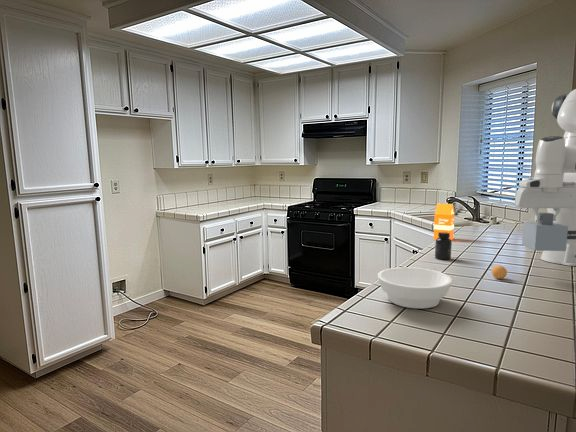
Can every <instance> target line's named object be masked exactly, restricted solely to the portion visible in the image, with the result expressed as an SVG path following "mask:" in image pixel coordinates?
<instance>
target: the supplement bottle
mask: <svg viewBox="0 0 576 432" xmlns="http://www.w3.org/2000/svg"><path fill="white" fill-rule="evenodd" d="M438 237H439V238H437V239H436V240H435V249H434V252H435V253H434V258H435V259H436V260H441V261H449V260H451V259H452V246H453V245H452V240H451V239H450V238H449V237H450V233H448V232H438Z"/></svg>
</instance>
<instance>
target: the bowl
mask: <svg viewBox="0 0 576 432" xmlns="http://www.w3.org/2000/svg"><path fill="white" fill-rule="evenodd" d="M377 279H378V281H379V285H380V287H381V289H382V291H383V292H384V293H386V295H387V297H388V300H389V301H390V302H391V303H393V304H394V305H397V306H399V307H404V308H409V309H429V308H434V307H436V306H438V305H439V303H440V301H441V299H442V298H444V297H445V296H447V294H448V292H449V290H450V289H451V285H452V284H453V279H452V277H451V276H449V275H448V274H446V273H444V272H441V271H437V270H433V269H429V268H423V267H422V268H421V267H413V266H412V267H410V266H408V267H403V266H402V267H401V266H400V267H391V268H386V269H383V270H381V271H379V272H378V273H377Z"/></svg>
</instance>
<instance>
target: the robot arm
mask: <svg viewBox="0 0 576 432" xmlns="http://www.w3.org/2000/svg"><path fill="white" fill-rule="evenodd" d="M551 113H552V117H554V119H556V122H557V125H558V126H559V127H560V128H561V129H562V130H563V131H564V134H563V136H559V135H555V136H553V135H552V136H544V137H542V138H540V139H539V141H538V144H537V146H536V147H537V148H536V153H535V171H534V175H533V177H531V178H530V177H529V178H527V179H522V180H519V182H518V186H519V188H518V189H517V190H516V193H515V201H514V206H515V207H516V208H519V209H531V211H532V213H533V215H534V221H535V222H538V221H541V217H542V216H540V215H539V214H538V212H539V211H540V209H546V211H547V212H546V213H552V214H554V215H553V222H554V223H558V224H561V225H565V226H568V233H567V244H566V251H542V253H541V255H540V259H541V260H542V261H545V262H548V263H552V264H557V265H558V264H559V265H565V266H568V267H576V88H575V89H573V90H571V91H570V92H569V93H568V94H567V93H566V94H561V95H558V96H557V97H555V99H554V101H553V102H552V105H551Z"/></svg>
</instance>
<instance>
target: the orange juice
mask: <svg viewBox="0 0 576 432" xmlns="http://www.w3.org/2000/svg"><path fill="white" fill-rule="evenodd" d="M433 223H434V225H433V240H434V241H436V239H437V238H439V237H438V232H448V233H450V237H449V238H450V239H451V241H452V240H454V234H455V233H454V231H455V210H454V204H452V203H450V204H449V203H436V206H435V210H434V221H433Z"/></svg>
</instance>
